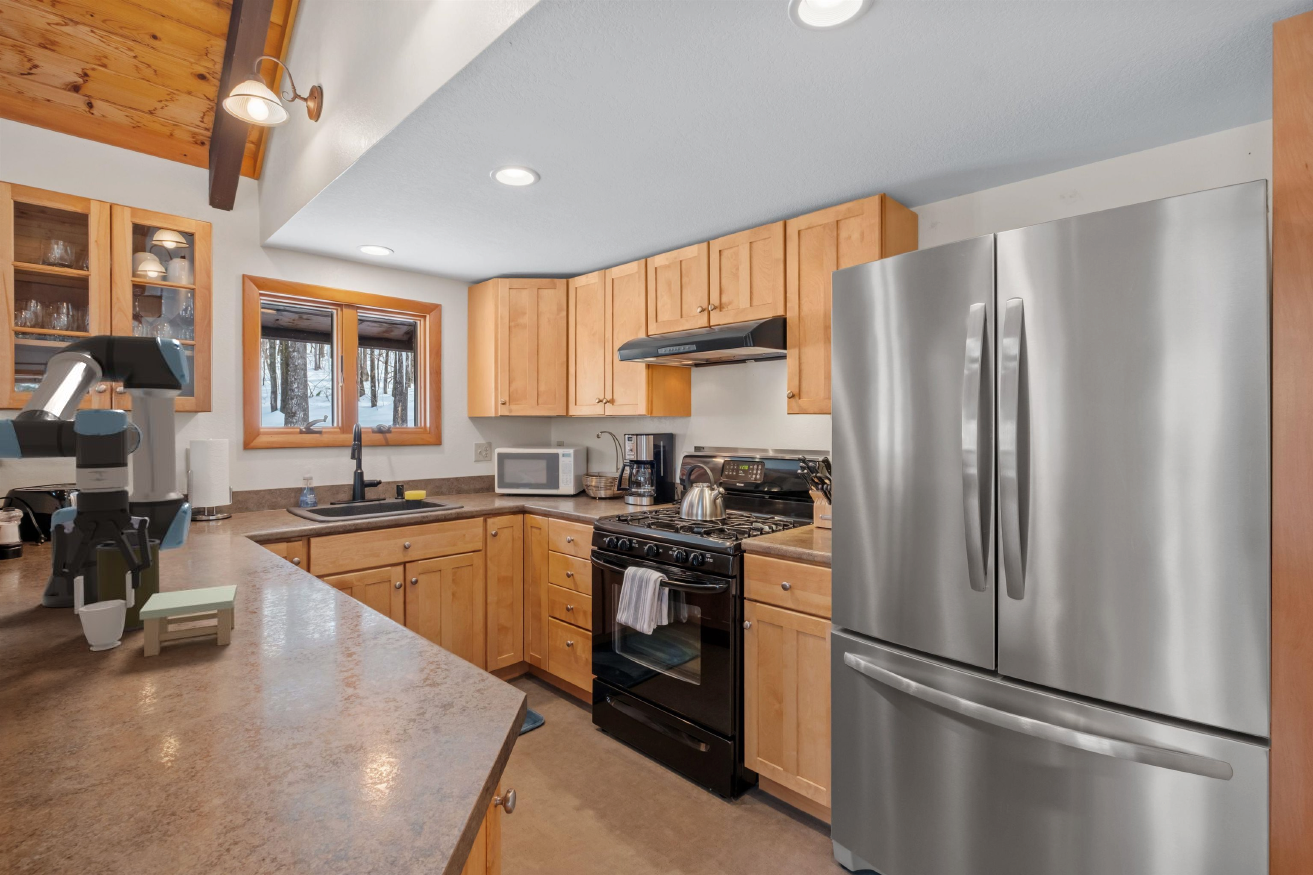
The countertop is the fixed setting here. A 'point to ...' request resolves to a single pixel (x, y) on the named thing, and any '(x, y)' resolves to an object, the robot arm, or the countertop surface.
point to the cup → (103, 623)
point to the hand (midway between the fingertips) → (105, 608)
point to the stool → (187, 603)
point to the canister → (114, 577)
